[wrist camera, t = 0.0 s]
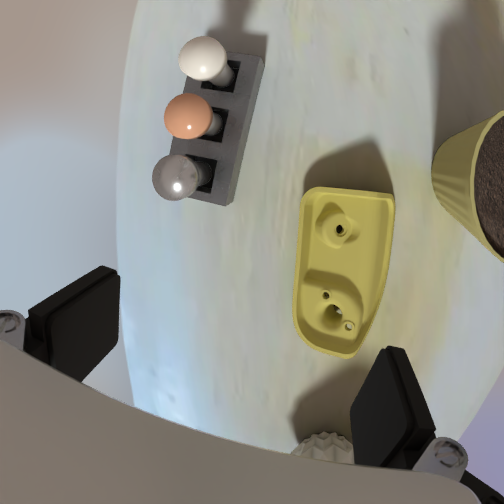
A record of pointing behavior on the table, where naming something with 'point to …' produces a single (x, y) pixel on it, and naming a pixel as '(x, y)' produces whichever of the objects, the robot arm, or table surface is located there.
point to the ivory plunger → (206, 61)
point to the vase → (326, 448)
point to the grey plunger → (179, 176)
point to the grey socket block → (235, 129)
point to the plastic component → (341, 266)
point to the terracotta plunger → (191, 117)
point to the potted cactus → (474, 181)
